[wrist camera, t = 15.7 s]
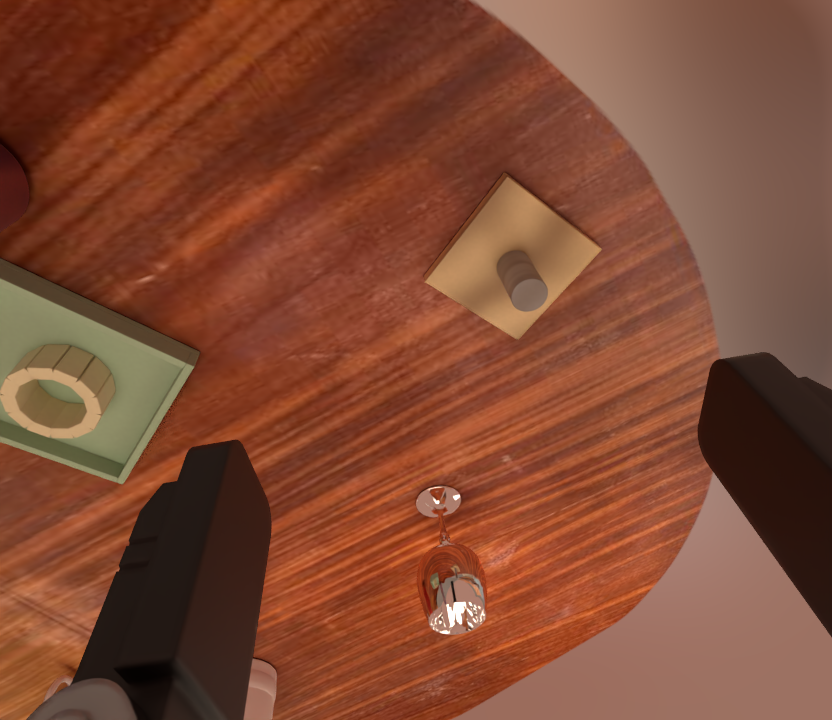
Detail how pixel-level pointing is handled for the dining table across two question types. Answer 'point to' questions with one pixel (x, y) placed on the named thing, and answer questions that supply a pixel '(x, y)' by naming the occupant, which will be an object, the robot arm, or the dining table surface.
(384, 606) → the dining table surface
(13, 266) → the tray
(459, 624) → the wineglass
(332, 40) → the dining table surface
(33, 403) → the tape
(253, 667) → the bottle
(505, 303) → the peg stand
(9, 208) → the beverage can
